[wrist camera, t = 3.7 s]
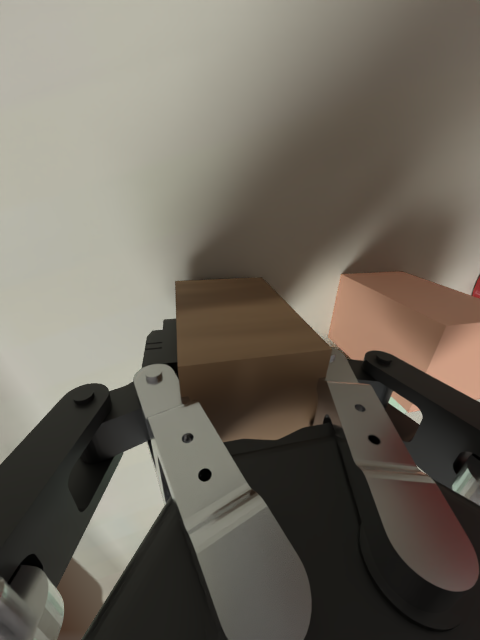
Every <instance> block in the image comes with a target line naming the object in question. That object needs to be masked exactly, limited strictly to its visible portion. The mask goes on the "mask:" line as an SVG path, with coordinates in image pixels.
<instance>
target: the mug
mask: <svg viewBox="0 0 480 640" xmlns="http://www.w3.org/2000/svg"><path fill="white" fill-rule="evenodd" d="M472 296H474V297H476V298H479V299H480V276H479V278H478V280H477V283H476V285H475V288H474V290H473V294H472Z"/></svg>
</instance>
